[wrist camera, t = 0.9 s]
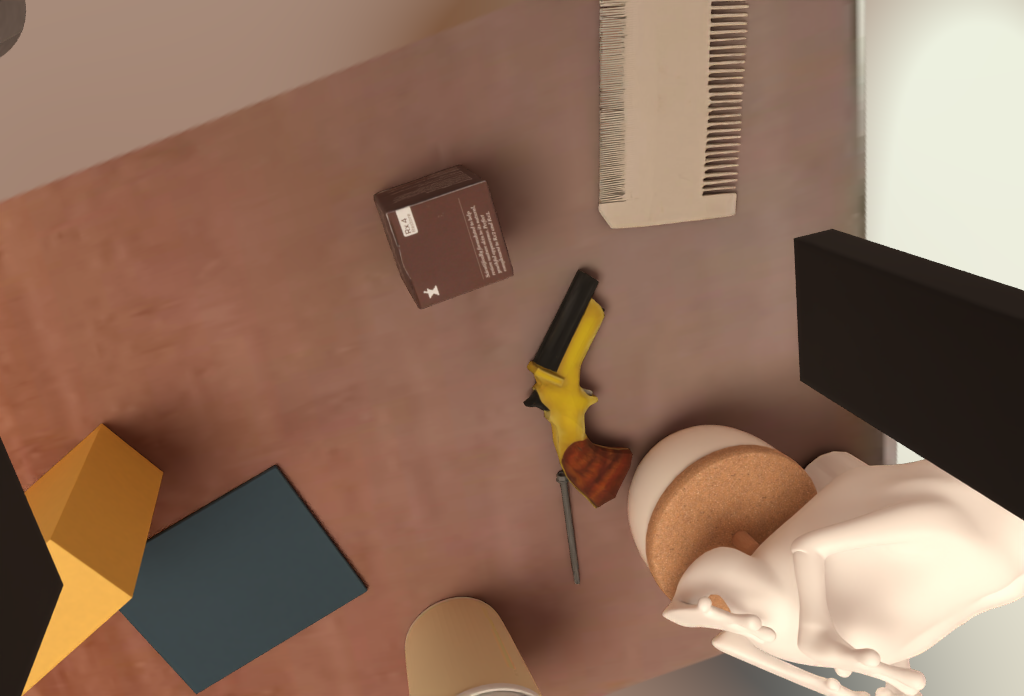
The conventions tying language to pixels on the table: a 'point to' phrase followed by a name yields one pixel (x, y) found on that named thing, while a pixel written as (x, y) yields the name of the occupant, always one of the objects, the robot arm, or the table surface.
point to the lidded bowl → (710, 498)
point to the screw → (569, 524)
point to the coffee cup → (464, 653)
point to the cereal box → (92, 536)
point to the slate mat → (237, 580)
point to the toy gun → (575, 395)
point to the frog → (860, 578)
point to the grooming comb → (663, 113)
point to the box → (444, 235)
